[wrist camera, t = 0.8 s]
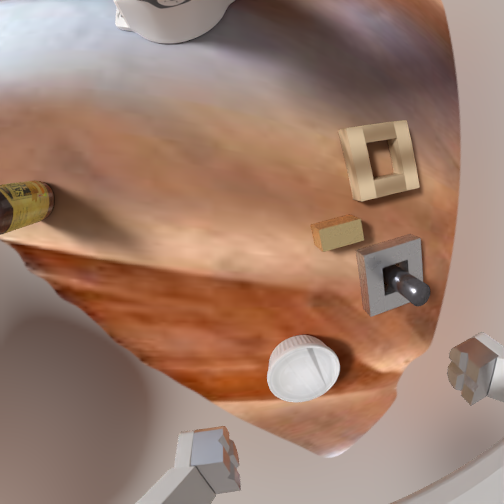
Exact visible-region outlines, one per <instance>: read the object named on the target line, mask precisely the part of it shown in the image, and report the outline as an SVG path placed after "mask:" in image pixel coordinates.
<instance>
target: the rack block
mask: <svg viewBox="0 0 504 504" xmlns="http://www.w3.org/2000/svg"><path fill="white" fill-rule="evenodd" d="M338 133H339V137H340V141H341V145H342V149H343V154H344V158H345V163H346V167H347V172H348V176H349V181H350V186H351V191H352V196H353V199H354V200H358V201H366V200H370V199H374V198H378V197H382V196H386V195H391V194H395V193H399V192H403V191H407V190H411V189H416V188H420V187H419V180H418V174H417V168H416V163H415V157H414V152H413V147H412V142H411V138H410V133H409V129H408V124H407V120H401V121H393V122H385V123H377V124H370V125H363V126H356V127H350V128H345V129H342V130H339V131H338ZM381 140H387V142H388V146H389V151H390V156H391V161H392V166H393V171H394V173H393V174H388V175H384V176H379V177H374V178H373V174H372V169H371V165H370V160H369V155H368V151H367V146H366V143H369V142H374V141H381Z"/></svg>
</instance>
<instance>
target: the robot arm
mask: <svg viewBox="0 0 504 504" xmlns="http://www.w3.org/2000/svg"><path fill="white" fill-rule="evenodd" d="M234 1H235V0H114V2H115V4H116V6H117V10H116V19H115V24H116V26H117V28H118V29H121V30H126V31H133V32H136V33H137V34H139V35H140V36H142V37H143V38H145V39H147V40H150V41H153V42H157V43H179V42H184V41H188V40H191V39H194V38H196V37H199V36H201V35H203V34H204V33H206V32H208V31H209V30H210V29H212V28H213V27H214V26H215V25H216V24H217V23H218V22H219V21H220V20H221V18H222V17H223V15H224V13H225V11H226V9H227V7H228V6H229V5H230V4H231V3H232V2H234ZM449 358H450V359H451V363H450V365H449V366H448V372H447V375H448V379H449V382H450V383H451V385H452V386H453V388H454V389H456V390H461V396H462V397H463V398H464V399H465V400H466V401H467V402H468V403H469V404H470V405H473V404H475V403H476V402H478V401H479V400H481V399H483V398H484V397H486V396H487V395H488V397H490V398H493V399H496V400H499V401H502V402H504V346H502V345H501V344H500V343H498V342H497V341H495V340H494V339H492V338H491V337H490V336H488V335H487V334H486V333H484V332H480V333H478V334H477V335H475V336H473V337H472V338H470V339H468V340H466V341H465V342H463V343H461V344H459V345H457V346H455V347H454V348H452V349H451V351H450V354H449ZM238 466H239V458H238V454H237V449H236V446H235V444H234V442H233V441H232V440H230V439H229V432H228V430H227V428H226V427H225V426H221V427H214V428H207V429H199V430H194V431H185V432H181V433H180V435H179V438H178V444H177V451H176V458H175V465H174V468H170V469H169V470H168V471H167V472H166V473H165V474H164V475H163V476H162V477H161V478H160V479H159V480H158V481H157V482H156V483H155V484H154V485H153V486H152V487H151V488H150V489H149V490H148V491H147V493H145V494H144V495H143V497H141V498H140V499H139V500H138V501H137V502H136V503H135V504H211V503H212V501H213V499H214V498H215V496H216V494H220V493H227V492H234V491H240V490H241V488H240V487H241V486H240V475H239V473H238V471H237V467H238ZM390 504H504V438H502V439H501V440H500V441H498V442H497V443H496V444H494V445H493V446H492V447H491V448H489V449H487V450H486V451H485V452H483V453H482V454H480V455H479V456H477V457H476V458H474V459H473V460H471V461H470V462H468V463H467V464H465V465H464V466H462V467H460V468H459V469H457V470H455V471H454V472H452V473H450V474H448V475H447V476H445V477H443V478H441V479H440V480H438V481H436V482H434V483H432V484H430V485H429V486H426V487H425V488H423V489H421V490H419V491H417V492H414V493H412V494H410V495H408V496H406V497H404V498H402V499H399V500H397V501H395V502H393V503H390Z"/></svg>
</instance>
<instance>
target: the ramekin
mask: <svg viewBox="0 0 504 504" xmlns="http://www.w3.org/2000/svg"><path fill="white" fill-rule="evenodd" d="M339 372H340V363H339V359H338V357H337V355H336V354H335V352H334V351H333V350H332V349H330V348H329V347H327V346H326V345H325V344H324V343H323V342H322V341H320V340H319V339H317V338H315V337H313V336H310V335H297V336H293V337H291V338H288V339H286V340H284V341H282V342H281V343H280V344H279V345H278V346H277V347H276V348H275V349H274V350H273V352H272V354H271V356H270V359H269V369H268V373H267V381H268V386H269V388H270V390H271V392H272V393H273V394H274V395H275V396H277V397H278V398H280V399H282V400H284V401H289V402H304V401H309V400H312V399H315V398H317V397H319V396H321V395H322V394H324V393H325V392H327V391H328V390H329V389H330V388H331V387H332V386H333V385H334V383H335V382H336V380H337V378H338V376H339Z"/></svg>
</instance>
